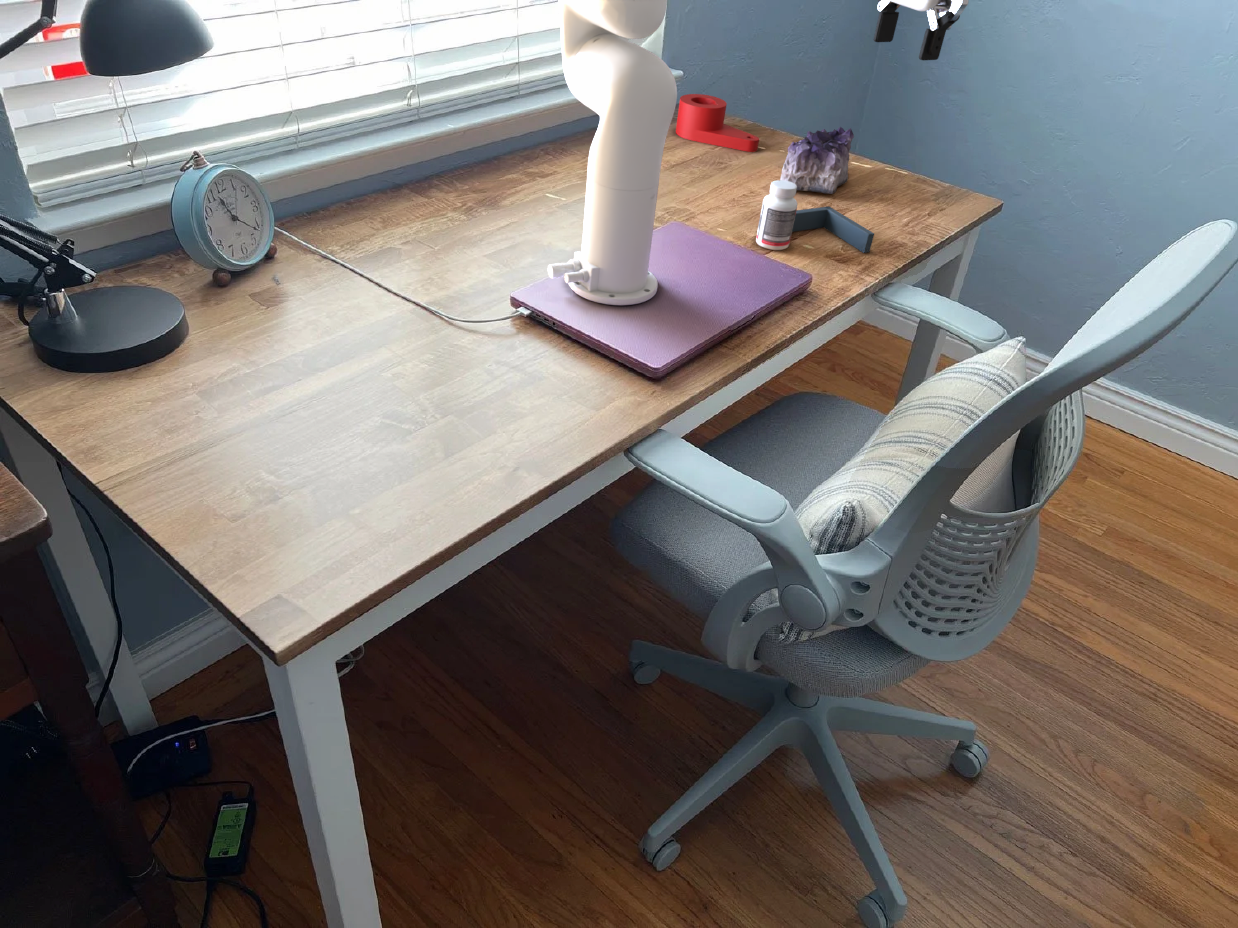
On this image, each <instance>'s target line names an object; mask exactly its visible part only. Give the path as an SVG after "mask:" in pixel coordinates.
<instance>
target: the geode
mask: <svg viewBox="0 0 1238 928" xmlns="http://www.w3.org/2000/svg"><path fill="white" fill-rule="evenodd" d="M854 137H855V135H854V132H853V129H852V127H850V128H848V129H846V130H845V129H844V128H843V127H842V126H839V127H838V128H837V129H833V130H832V131H827V130H826V129H825V128H823V129H821V130H816V131H815V132H812V131H810V130H808V131H807V133H806V136H805V137H804V138H803V139H801V140H798V141H792V142H791V143H790V145H789V146H788V147H787V155H786V158H785V161H784V163H782V164H783V165H782V166H783V167H782V168H781V174H780V179H779V180H784V181H789V182H792V183H794V184H795V185H796V186H797V189H796V191H799V192H800V191H801V192H814V193H822V194H825V195H826V194H828V195H834V194H835V193H836V192H837V189H838V187H841V186H842V185H845V184H847V182H848V180H849V173H848V171H849V162H850V151H851V149H852V148H851V147H852V145H851V144H852V141H853V139H854Z"/></svg>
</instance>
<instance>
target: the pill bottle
mask: <svg viewBox="0 0 1238 928" xmlns="http://www.w3.org/2000/svg"><path fill="white" fill-rule="evenodd" d="M796 189H797V186H796V185H795V184H794V183H792V182H789V181H784V180H780V179H777V180H773V181H771V183H770V187H769V193H768V194H767V195H765V196H764V198H763V199H762V204H761V210H760V213H759V214H760V215H759V220H758V226H757V231H756V237H755V242H756V244H757V245H758V246H760V247H761V248H764V249H766V250H767V249H768V250H771V251H772V250H773V251H782V250H786V249H787V248H789V246H790V243H791V239H792V234H793V232H792V229H793V224H794V219H795V215H796V210H798V201H797V200H796V198H794V197H796V194H797V190H796Z"/></svg>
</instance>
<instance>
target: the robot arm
mask: <svg viewBox="0 0 1238 928" xmlns="http://www.w3.org/2000/svg"><path fill="white" fill-rule="evenodd" d="M877 1H878V4H877V11H878V12H879V14H878V17H877V18H878V19H877V23H876V27H875V31H874V35H873V42H875V43H891V42H892V41H893V40H894V37H895V32H896V28H897V24H898V20H899V15H900V12H899V11H897V10H898V9H899V8H900V7H901V6H902V7H905V8H909V9H911V10H915V11H917V12H926V14H927V18H928V22H929V27H930V28H926V29H925V32H924V35H923V39H922V43H921V46H920V50H919V54H918V59H919V60H920V61H937V60H938V59H939V58H940V54H941V51H942V47H943V43H944V40H945V36H946V32H947V31H950V30H951V28H952V25H954V24H955V23H956V22H957V21H958V20H960V17H961V15H962V14H963V12H964V11H965V10H966V8H967V7H968V5H969V0H877ZM667 6H668V0H558V9H559V11H558V12H559V26H560V27H559V28H560V43H561V59H562V68H563V74H564V79H565V82H566V85H567V87H568V89H569V91H570V92H571V94H572V95H573V96H574V97H575V99H576V100H578V101H579V102H580V103H581V104H582V105H584V106H585V107H586V108H588V109H590V110H591V111H593V112H594V113H595V114H597V115H598V116H599V123H598V127H597V130H596V132H595V134H594V136H593V138H592V142H591V144H590V147H589V153H588V159H587V169H586V170H587V172H586V187H585V198H584V199H585V200H584V214H583V226H582V239H581V250H579V251H574V252H573V259H568V261H567V262H557V263H550V264H548V265H547V275H548V277H549V279H559V278H563V279H564V280H563V281H564V282H565V283H566V284H568V286H569V287H570V289H571V290H572V291H573V292H574V293H575V294H576V295H578V296H580V297H582V298H584V299H586V300H588V301H592V302H595V303H598V304H603V305H608V306H609V305H610V306H631V305H637V304H638V305H639V304H641V303H645V302H646V301H649V300H650V299H652V298H653V297H654V296H655V295H656V294H657V291H658V286H659V285H658V284H659V283H658V279H657V277H656V276H655V275H654V273H652V271H650V270H649V267H650V260H651V259H650V257H651V251H652V244H653V236H654V235H653V234H654V227H655V219H656V210H657V201H658V194H659V193H658V192H659V186H660V177H661V169H662V162H663V157H664V150H665V144H666V142H667V136H668V133H669V129H670V127H671V124H672V121H673V117H674V114H675V111H676V106H677V102H678V101H677V99H678V87H677V86H678V85H677V82H676V79H675V75H674V74H673V72H672V69H670V66H668V64H667V63H666V61H664V60H663V59H662V58H661V57H659V56H658V55H656V54H655V53H653V52H652V51H650V50H648V49H647V48H645V47H643V46H641V45H640V44H637V43H635V42H632V41H630V40H640V39H645V38H647V37H650V36H651V35H653V34H654V33H655V32H657V31H658V30H659V28H660V27H661V26H662V23H663V21H664V19H665V16H666V12H667ZM938 14H939V15H938Z"/></svg>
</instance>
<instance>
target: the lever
mask: <svg viewBox="0 0 1238 928" xmlns="http://www.w3.org/2000/svg"><path fill="white" fill-rule="evenodd" d="M727 104H728V103H727V101H725V100H724V99H723V98H720V97H717V96H713V95H708V94H702V93H688V94H683V95H681V96H680V98H679V103H678V111H677V119H676V126H675V134H676V135H677V136H678V137H680V138H683V139H685V140H689V141H692V142H698V143H702V144H707V145H713V146H717V147H723V148H726V149H727V148H728V149H733V150H739V151H744V152H749V153H755V152H758V148H759V143H760V137H758V136H756V135H754V134H751V133H749V132H747V131H744V130H741V129H738V128H737V127H734V126H731V125H728V124H726V123H725V118H726V110H727Z"/></svg>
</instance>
